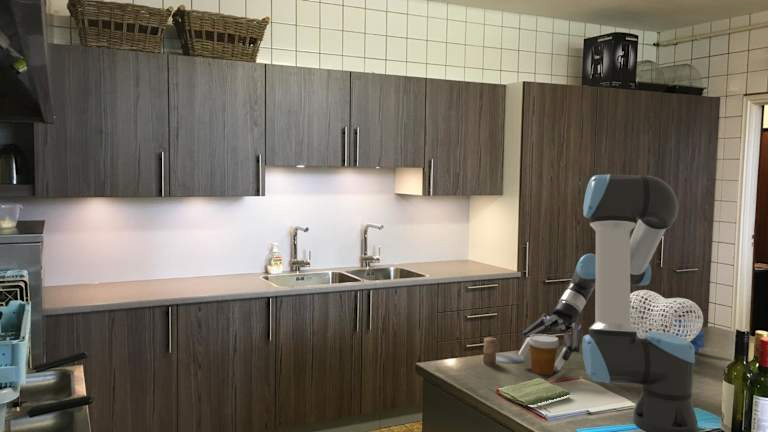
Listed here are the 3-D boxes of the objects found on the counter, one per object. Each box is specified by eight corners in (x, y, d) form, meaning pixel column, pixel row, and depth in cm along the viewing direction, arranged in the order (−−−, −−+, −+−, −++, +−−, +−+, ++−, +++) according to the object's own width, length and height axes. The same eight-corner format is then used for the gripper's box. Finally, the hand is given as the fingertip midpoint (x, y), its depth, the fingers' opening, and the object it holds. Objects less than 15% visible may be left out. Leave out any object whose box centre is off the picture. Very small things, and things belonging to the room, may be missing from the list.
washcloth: (494, 396, 187) (495, 385, 187) (540, 386, 196) (540, 375, 196) (527, 411, 176) (527, 400, 176) (573, 400, 185) (574, 389, 185)
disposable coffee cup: (522, 376, 203) (524, 338, 202) (531, 368, 211) (532, 331, 210) (553, 382, 198) (555, 343, 197) (560, 373, 207) (562, 336, 206)
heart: (611, 349, 235) (614, 288, 233) (640, 344, 243) (644, 285, 241) (679, 372, 211) (684, 304, 209) (710, 366, 218) (714, 300, 216)
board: (509, 376, 203) (509, 372, 203) (474, 367, 211) (475, 363, 211) (539, 361, 219) (539, 357, 218) (505, 353, 226) (506, 350, 226)
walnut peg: (491, 366, 208) (492, 341, 208) (480, 363, 211) (481, 339, 210) (498, 363, 211) (499, 339, 211) (487, 360, 214) (488, 336, 213)
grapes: (665, 350, 236) (667, 317, 235) (672, 346, 241) (675, 314, 240) (699, 357, 228) (701, 323, 227) (706, 354, 233) (708, 320, 232)
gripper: (608, 322, 204) (577, 379, 195) (541, 307, 223) (511, 358, 214) (599, 308, 200) (568, 365, 192) (532, 293, 219) (501, 345, 211)
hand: (538, 361), depth 203 cm, fingers open, 13 cm apart
